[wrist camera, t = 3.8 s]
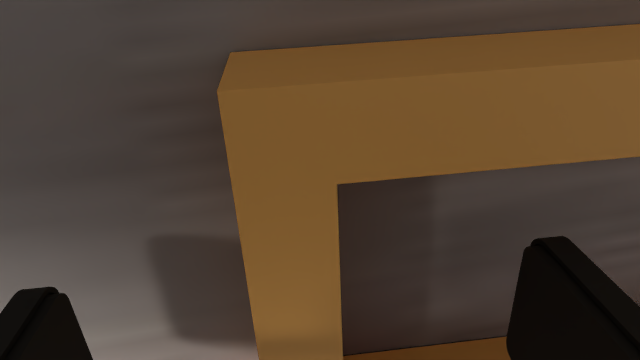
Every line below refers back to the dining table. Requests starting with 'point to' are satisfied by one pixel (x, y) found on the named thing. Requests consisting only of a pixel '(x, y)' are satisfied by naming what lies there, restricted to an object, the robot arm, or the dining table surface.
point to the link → (401, 149)
